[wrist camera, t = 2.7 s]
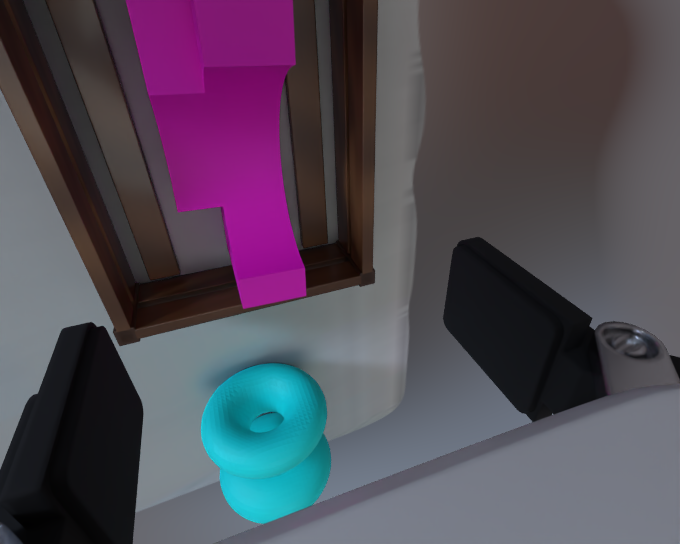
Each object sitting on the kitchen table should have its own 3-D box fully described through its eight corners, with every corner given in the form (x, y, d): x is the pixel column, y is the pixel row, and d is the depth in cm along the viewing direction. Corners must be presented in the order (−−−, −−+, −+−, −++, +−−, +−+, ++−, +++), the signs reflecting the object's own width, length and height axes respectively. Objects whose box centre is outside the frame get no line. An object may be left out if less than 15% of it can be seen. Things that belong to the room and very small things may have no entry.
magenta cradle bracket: (130, -10, 19) (114, -19, 13) (257, -6, 21) (291, -13, 15) (191, 252, 28) (197, 318, 22) (278, 239, 29) (306, 295, 23)
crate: (-36, -76, 16) (-100, -103, 12) (343, -69, 21) (384, -88, 17) (126, 299, 28) (119, 346, 24) (350, 250, 32) (375, 283, 28)
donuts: (218, 443, 39) (231, 550, 31) (193, 375, 33) (201, 486, 26) (313, 411, 42) (347, 503, 34) (305, 343, 36) (344, 435, 28)
